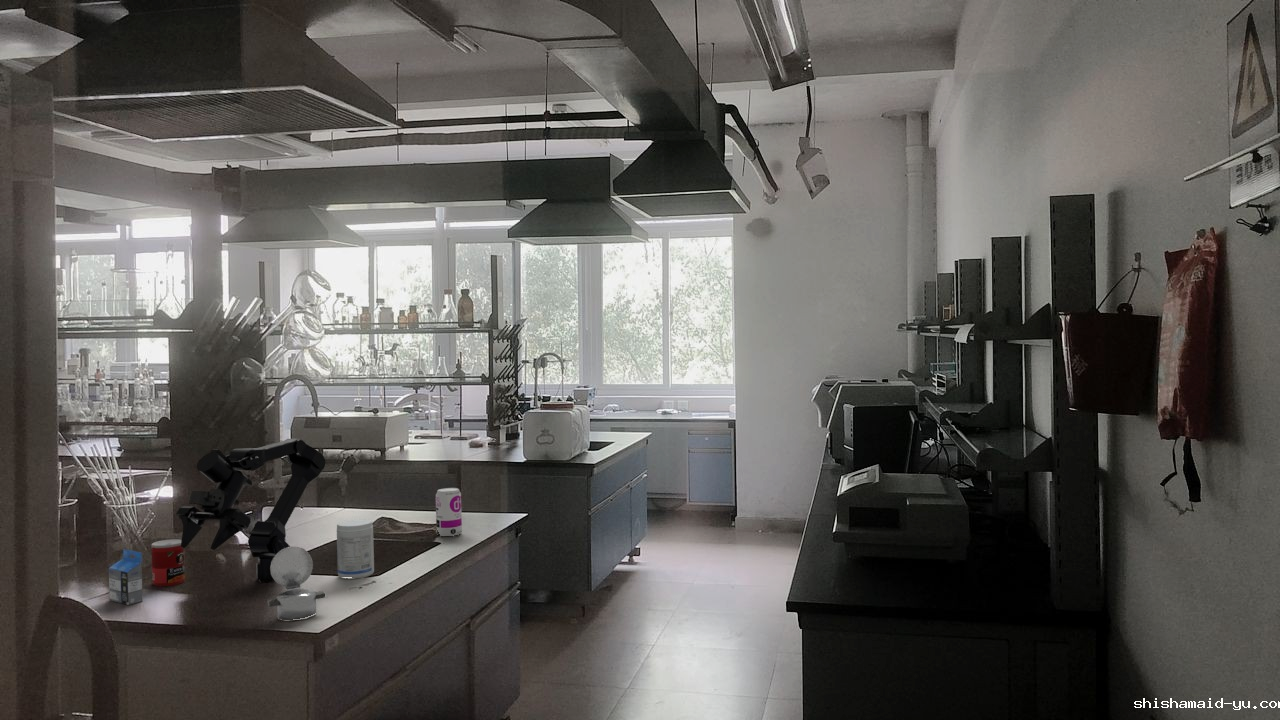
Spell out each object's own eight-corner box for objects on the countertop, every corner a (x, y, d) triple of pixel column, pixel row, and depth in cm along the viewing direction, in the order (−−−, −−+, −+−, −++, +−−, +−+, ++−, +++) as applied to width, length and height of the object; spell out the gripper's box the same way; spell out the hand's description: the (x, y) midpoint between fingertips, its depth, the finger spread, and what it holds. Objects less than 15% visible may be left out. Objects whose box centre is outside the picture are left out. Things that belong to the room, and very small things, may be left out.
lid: (272, 592, 199) (270, 591, 200) (314, 585, 204) (312, 585, 205) (269, 549, 200) (268, 549, 202) (311, 544, 205) (310, 543, 207)
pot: (320, 605, 206) (319, 584, 206) (328, 615, 197) (327, 594, 197) (265, 614, 199) (264, 593, 199) (271, 625, 191) (271, 603, 191)
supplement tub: (342, 571, 237) (341, 519, 237) (377, 570, 238) (376, 517, 238) (333, 581, 227) (332, 526, 227) (370, 579, 228) (368, 524, 228)
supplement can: (467, 533, 283) (466, 488, 283) (449, 538, 276) (448, 492, 276) (449, 531, 287) (448, 486, 287) (431, 535, 280) (430, 490, 280)
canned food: (171, 587, 225) (169, 546, 224) (145, 586, 226) (143, 545, 226) (192, 579, 232) (190, 539, 232) (166, 578, 234) (165, 538, 234)
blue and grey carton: (108, 600, 214) (107, 552, 213) (124, 596, 217) (123, 548, 217) (127, 605, 209) (126, 555, 209) (144, 601, 212) (142, 552, 212)
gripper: (177, 475, 213) (145, 531, 204) (237, 477, 207) (206, 535, 198) (205, 497, 221) (175, 552, 212) (263, 499, 216) (235, 556, 206)
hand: (197, 548), depth 207 cm, fingers open, 9 cm apart
